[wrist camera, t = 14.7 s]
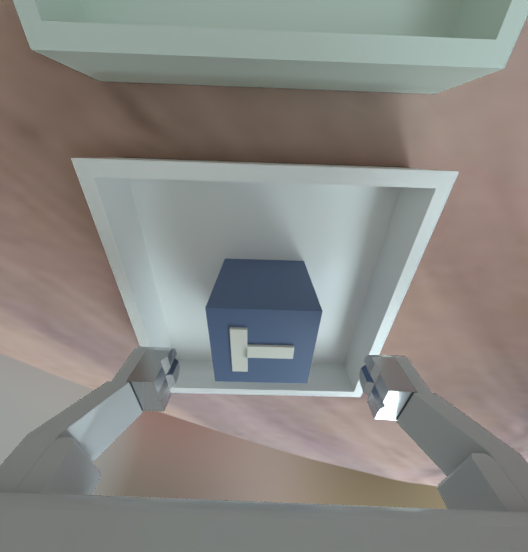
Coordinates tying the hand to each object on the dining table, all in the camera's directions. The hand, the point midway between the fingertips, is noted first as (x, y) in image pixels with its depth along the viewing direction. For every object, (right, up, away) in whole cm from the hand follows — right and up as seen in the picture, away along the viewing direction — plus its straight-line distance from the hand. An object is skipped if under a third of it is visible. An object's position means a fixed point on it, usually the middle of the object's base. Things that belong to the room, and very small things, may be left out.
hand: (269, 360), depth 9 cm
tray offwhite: (0, +3, +5) cm, 6 cm away
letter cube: (0, +3, +4) cm, 5 cm away
